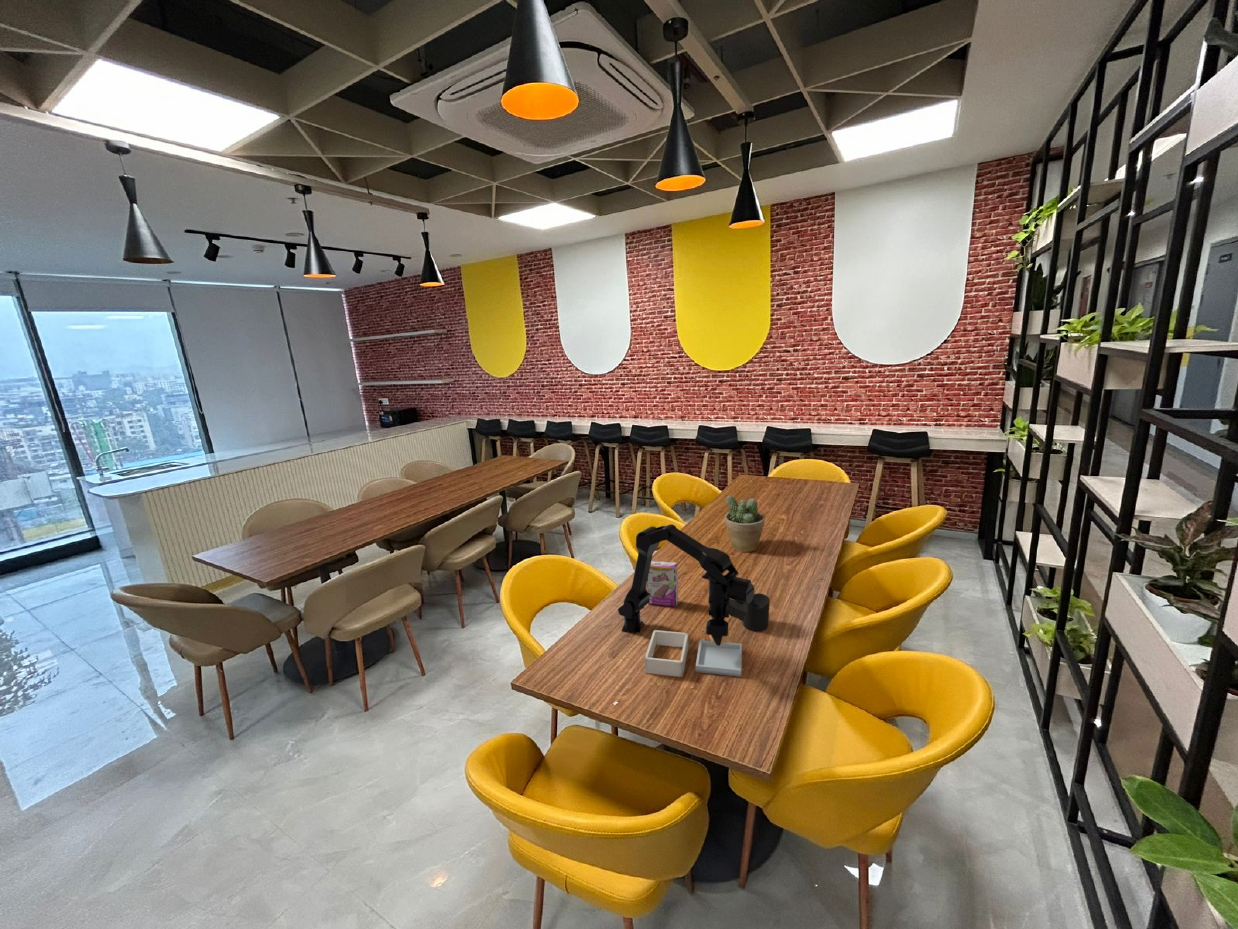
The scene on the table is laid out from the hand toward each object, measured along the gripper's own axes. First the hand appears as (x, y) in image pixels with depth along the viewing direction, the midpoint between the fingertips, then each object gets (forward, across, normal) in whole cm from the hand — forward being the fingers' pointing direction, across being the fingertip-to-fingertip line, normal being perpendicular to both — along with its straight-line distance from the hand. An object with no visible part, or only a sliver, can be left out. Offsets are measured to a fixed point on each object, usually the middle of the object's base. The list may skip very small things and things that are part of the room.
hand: (718, 639), depth 153 cm
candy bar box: (+8, +32, +23) cm, 40 cm away
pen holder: (+8, +22, -11) cm, 26 cm away
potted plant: (+8, +88, -7) cm, 89 cm away
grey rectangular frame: (+8, -2, +16) cm, 18 cm away
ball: (-2, 0, 0) cm, 2 cm away
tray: (+8, 0, 0) cm, 8 cm away
